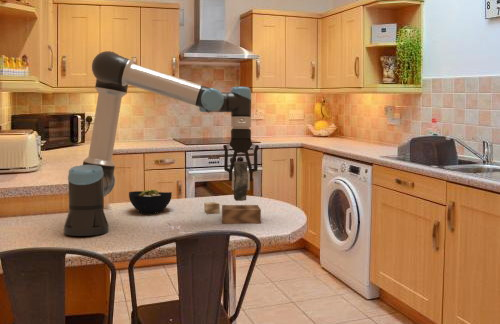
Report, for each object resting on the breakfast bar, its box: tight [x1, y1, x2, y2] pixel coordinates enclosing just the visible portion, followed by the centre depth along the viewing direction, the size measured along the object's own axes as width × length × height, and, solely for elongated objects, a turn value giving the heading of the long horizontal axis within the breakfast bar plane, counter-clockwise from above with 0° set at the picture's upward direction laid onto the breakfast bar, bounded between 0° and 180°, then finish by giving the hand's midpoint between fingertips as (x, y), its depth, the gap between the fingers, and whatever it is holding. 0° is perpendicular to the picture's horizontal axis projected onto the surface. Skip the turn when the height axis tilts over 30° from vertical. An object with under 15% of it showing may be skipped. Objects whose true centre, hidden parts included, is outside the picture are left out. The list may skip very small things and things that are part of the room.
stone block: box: [233, 160, 248, 202], centre depth 205 cm, size 9×14×5 cm
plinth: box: [221, 204, 262, 225], centre depth 206 cm, size 14×14×5 cm
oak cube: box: [203, 201, 221, 215], centre depth 219 cm, size 5×5×5 cm
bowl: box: [128, 189, 173, 215], centre depth 221 cm, size 17×17×10 cm
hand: (240, 189), depth 205 cm, fingers closed on stone block, 5 cm apart
